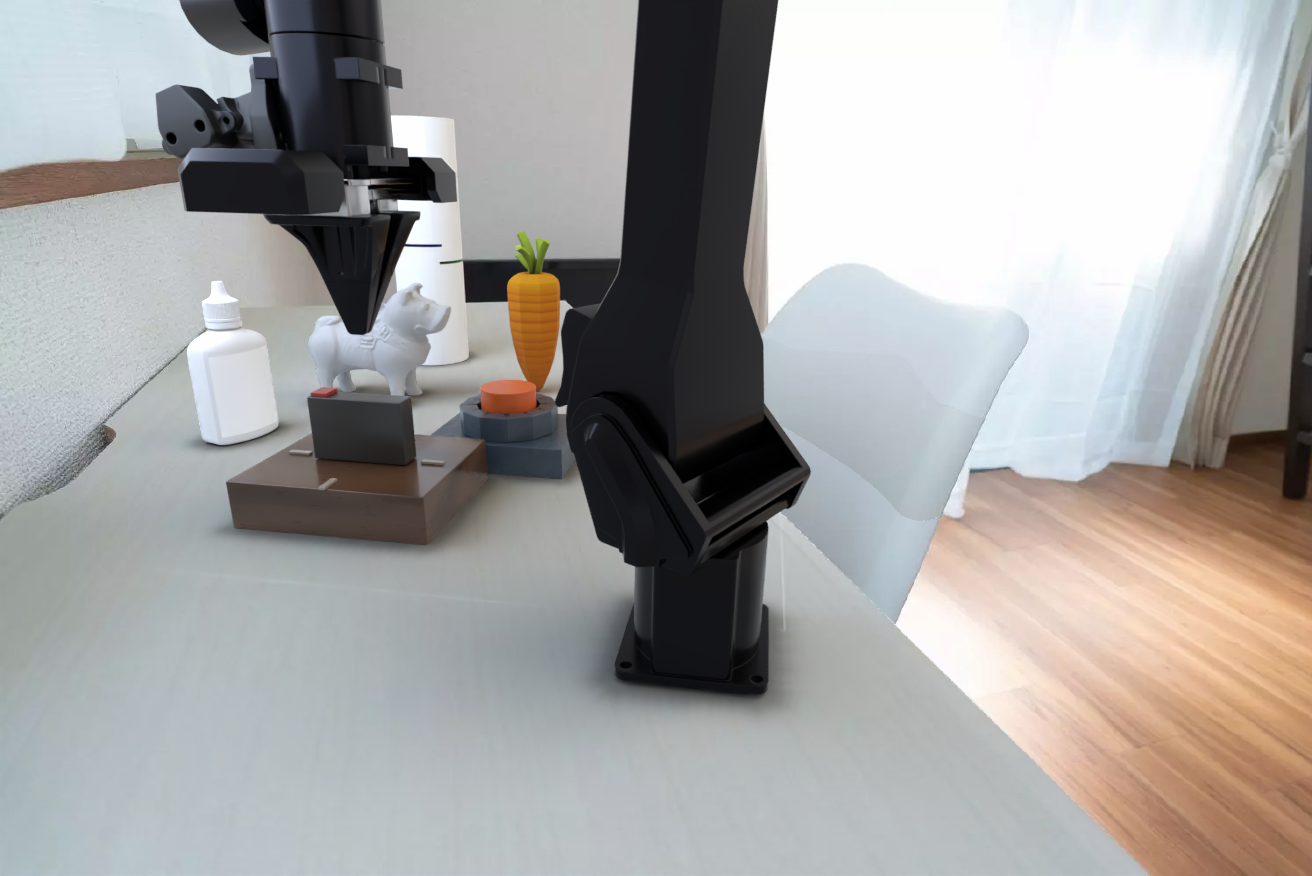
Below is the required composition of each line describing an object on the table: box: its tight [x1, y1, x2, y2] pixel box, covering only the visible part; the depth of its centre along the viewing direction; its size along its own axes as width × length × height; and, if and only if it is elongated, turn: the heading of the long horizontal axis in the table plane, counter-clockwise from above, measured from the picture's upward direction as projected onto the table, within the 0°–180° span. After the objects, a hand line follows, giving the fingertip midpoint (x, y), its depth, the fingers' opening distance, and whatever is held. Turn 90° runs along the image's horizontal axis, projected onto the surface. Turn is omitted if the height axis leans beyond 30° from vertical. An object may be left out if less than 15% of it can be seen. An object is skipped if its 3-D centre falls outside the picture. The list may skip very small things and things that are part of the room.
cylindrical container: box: [391, 115, 470, 366], centre depth 81 cm, size 7×7×25 cm
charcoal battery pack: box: [306, 387, 416, 465], centre depth 47 cm, size 6×2×4 cm, turn 81°
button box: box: [430, 392, 576, 480], centre depth 56 cm, size 8×10×4 cm
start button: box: [479, 379, 537, 414], centre depth 56 cm, size 4×4×2 cm
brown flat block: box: [225, 432, 489, 546], centre depth 48 cm, size 10×12×3 cm
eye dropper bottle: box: [186, 280, 280, 446], centre depth 58 cm, size 4×6×12 cm
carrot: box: [506, 230, 561, 393], centre depth 71 cm, size 5×5×15 cm
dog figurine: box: [307, 282, 451, 396], centre depth 68 cm, size 5×13×11 cm, turn 87°
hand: (359, 333), depth 45 cm, fingers closed
